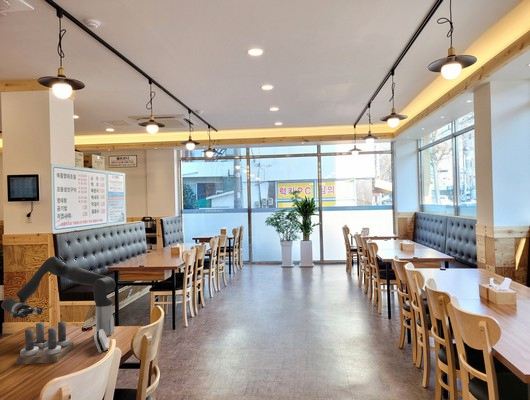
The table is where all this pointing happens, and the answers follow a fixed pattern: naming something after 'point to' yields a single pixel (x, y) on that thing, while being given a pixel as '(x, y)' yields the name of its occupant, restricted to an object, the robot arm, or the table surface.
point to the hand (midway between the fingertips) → (31, 314)
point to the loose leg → (39, 332)
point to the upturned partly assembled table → (45, 346)
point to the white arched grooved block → (101, 340)
